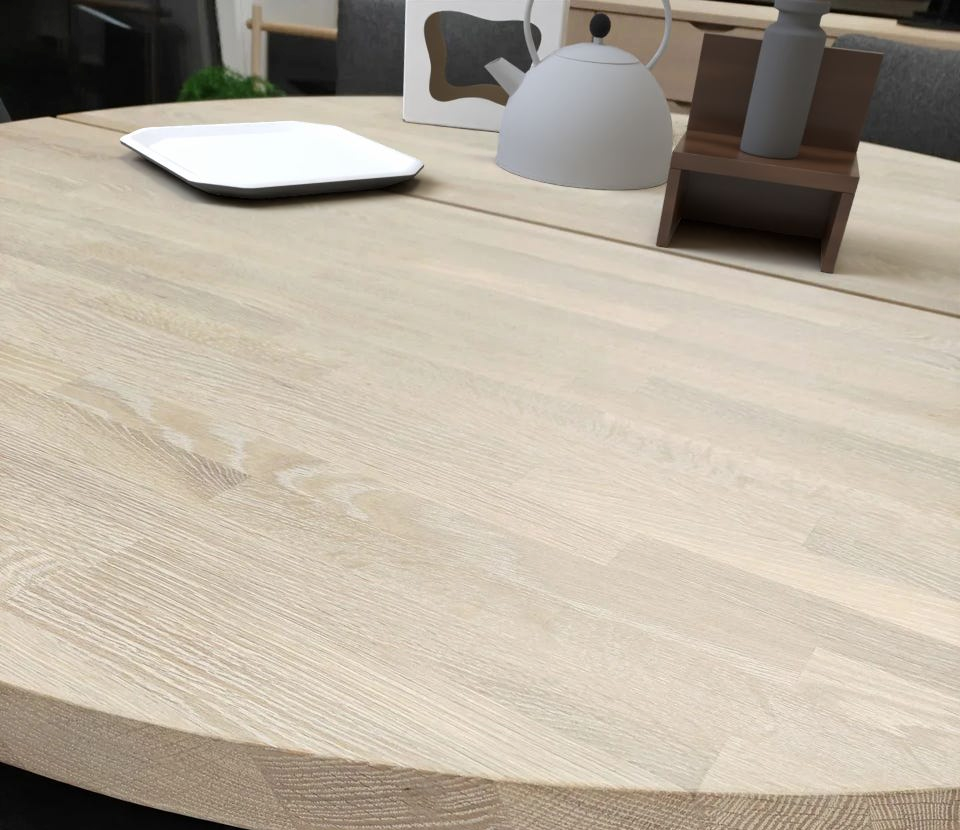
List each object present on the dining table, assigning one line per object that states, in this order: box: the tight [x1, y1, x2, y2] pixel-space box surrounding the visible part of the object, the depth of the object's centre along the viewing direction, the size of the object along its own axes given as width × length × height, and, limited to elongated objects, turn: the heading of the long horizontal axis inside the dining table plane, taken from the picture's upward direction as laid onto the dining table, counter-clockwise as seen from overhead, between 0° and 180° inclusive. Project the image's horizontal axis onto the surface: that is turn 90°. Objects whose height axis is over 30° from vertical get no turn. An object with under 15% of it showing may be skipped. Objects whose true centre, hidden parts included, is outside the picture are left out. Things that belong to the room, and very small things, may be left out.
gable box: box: [402, 0, 571, 133], centre depth 141 cm, size 22×13×28 cm, turn 82°
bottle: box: [740, 0, 832, 159], centre depth 96 cm, size 6×6×15 cm
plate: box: [119, 120, 425, 200], centre depth 116 cm, size 29×29×2 cm
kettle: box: [484, 0, 674, 191], centre depth 123 cm, size 25×23×22 cm
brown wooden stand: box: [655, 31, 885, 274], centre depth 102 cm, size 14×18×18 cm
